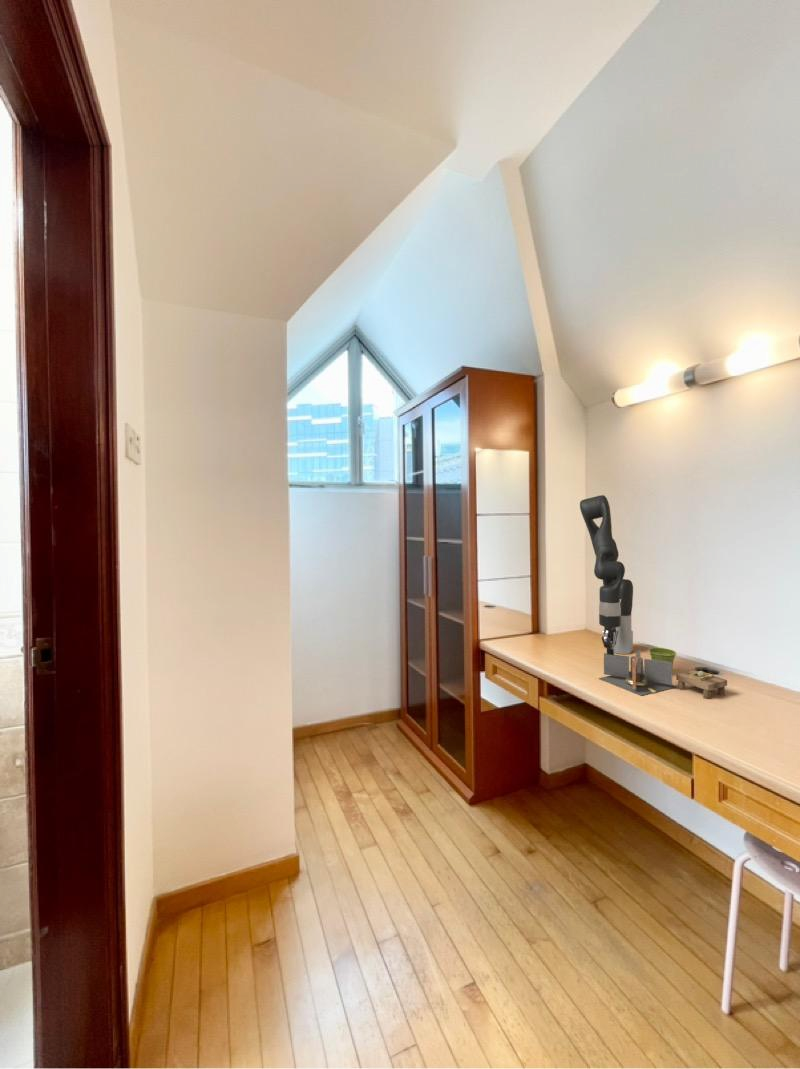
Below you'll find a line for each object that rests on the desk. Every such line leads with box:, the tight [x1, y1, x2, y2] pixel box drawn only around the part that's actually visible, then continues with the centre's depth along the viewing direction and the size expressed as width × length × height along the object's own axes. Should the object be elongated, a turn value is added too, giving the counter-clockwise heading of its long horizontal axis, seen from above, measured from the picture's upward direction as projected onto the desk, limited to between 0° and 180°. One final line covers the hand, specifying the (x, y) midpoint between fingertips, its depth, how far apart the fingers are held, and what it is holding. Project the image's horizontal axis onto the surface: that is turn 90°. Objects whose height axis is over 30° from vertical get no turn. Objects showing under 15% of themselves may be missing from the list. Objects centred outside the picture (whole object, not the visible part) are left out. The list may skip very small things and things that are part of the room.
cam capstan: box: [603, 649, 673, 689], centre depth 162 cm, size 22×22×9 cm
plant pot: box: [648, 647, 678, 668], centre depth 171 cm, size 9×9×9 cm
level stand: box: [675, 670, 728, 700], centre depth 153 cm, size 10×11×7 cm
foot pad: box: [598, 670, 678, 697], centre depth 161 cm, size 18×19×1 cm
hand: (610, 657), depth 168 cm, fingers closed
